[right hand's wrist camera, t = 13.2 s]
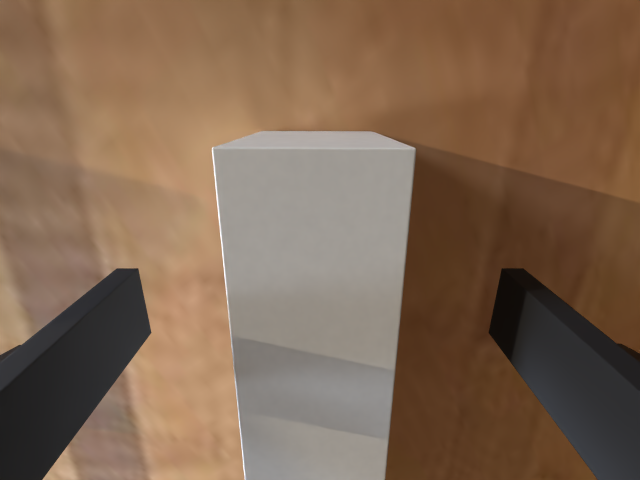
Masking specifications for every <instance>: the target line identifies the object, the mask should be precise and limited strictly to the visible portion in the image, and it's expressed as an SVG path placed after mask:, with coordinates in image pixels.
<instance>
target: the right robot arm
mask: <svg viewBox="0 0 640 480" xmlns="http://www.w3.org/2000/svg"><path fill="white" fill-rule="evenodd" d="M150 334H151V329H150V324H149V319H148V314H147V309H146V304H145V300H144V295H143V290H142V285H141V280H140V275H139V270H138V269H116V270H114V271H113V272H112V273H111V274H109V275H108V276H107V277H106V278H104V279H103V280H102V281H101V282H100V283H98V284H97V285H96V286H95V287H93V288H92V289H91V290H90V291H88V292H87V293H86V294H85V295H83V296H82V297H81V298H80V299H78V300H77V301H76V302H75V303H73V304H72V305H71V306H70V307H68V308H67V309H66V310H65V311H63V312H62V313H61V314H60V315H58V316H57V317H56V318H55V319H53V320H52V321H51V322H50V323H48V324H47V325H46V326H45V327H43V328H42V329H41V330H40V331H38V332H37V333H36V334H35V335H34V336H32V337H31V338H30V339H29V340H27V341H26V342H25V343H24V344H22V345H18V346H17V347H15V348H13V349H11V350H9V351H7V352H5V353H3V354H1V355H0V480H42V479H43V478H44V476H45V475H46V474H47V472H48V471H49V470H50V468H51V467H52V466H53V464H54V463H55V462H56V460H57V459H58V458H59V456H60V455H61V454H62V452H63V451H64V450H65V448H66V447H67V446H68V444H69V443H70V441H71V440H72V439H73V437H74V436H75V435H76V433H77V432H78V431H79V429H80V428H81V427H82V425H83V424H84V423H85V421H86V420H87V419H88V417H89V416H90V415H91V413H92V412H93V410H94V409H95V408H96V406H97V405H98V404H99V402H100V401H101V400H102V398H103V397H104V396H105V394H106V393H107V392H108V390H109V389H110V388H111V386H112V385H113V384H114V382H115V381H116V380H117V378H118V377H119V375H120V374H121V373H122V371H123V370H124V369H125V367H126V366H127V365H128V363H129V362H130V361H131V359H132V358H133V357H134V355H135V354H136V353H137V351H138V350H139V349H140V347H141V346H142V344H143V343H144V342H145V340H146V339H147V338H148V336H149V335H150ZM489 334H490V335H491V336H492V338H493V339H494V340H495V342H496V343H497V345H498V346H499V347H500V349H501V350H502V351H503V353H504V354H505V355H506V357H507V358H508V359H509V361H510V362H511V363H512V365H513V366H514V367H515V369H516V370H517V371H518V373H519V374H520V375H521V377H522V378H523V380H524V381H525V382H526V384H527V385H528V386H529V388H530V389H531V390H532V392H533V393H534V394H535V396H536V397H537V398H538V400H539V401H540V402H541V404H542V405H543V406H544V408H545V409H546V410H547V412H548V413H549V415H550V416H551V417H552V419H553V420H554V421H555V423H556V424H557V425H558V427H559V428H560V429H561V431H562V432H563V433H564V435H565V436H566V437H567V439H568V440H569V441H570V443H571V444H572V446H573V447H574V448H575V450H576V451H577V452H578V454H579V455H580V456H581V458H582V459H583V460H584V462H585V463H586V464H587V466H588V467H589V468H590V470H591V471H592V472H593V474H594V475H595V476H596V478H597V479H598V480H640V353H638V352H636V351H634V350H632V349H630V348H628V347H626V346H624V345H622V344H616V343H615V342H614V341H613V340H611V339H610V338H609V337H608V336H606V335H605V334H604V333H603V332H602V331H600V330H599V329H598V328H597V327H595V326H594V325H593V324H592V323H590V322H589V321H588V320H587V319H585V318H584V317H583V316H582V315H580V314H579V313H578V312H577V311H575V310H574V309H573V308H572V307H570V306H569V305H568V304H567V303H565V302H564V301H563V300H562V299H560V298H559V297H558V296H557V295H555V294H554V293H553V292H552V291H550V290H549V289H548V288H547V287H545V286H544V285H543V284H542V283H540V282H539V281H538V280H537V279H536V278H534V277H533V276H532V275H531V274H529V273H528V272H527V271H526V270H524V269H502V270H501V275H500V280H499V285H498V290H497V295H496V300H495V304H494V309H493V314H492V319H491V324H490V329H489Z"/></svg>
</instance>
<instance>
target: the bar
mask: <svg viewBox="0 0 640 480" xmlns="http://www.w3.org/2000/svg"><path fill="white" fill-rule="evenodd" d="M212 154H213V164H214V174H215V184H216V194H217V204H218V214H219V224H220V234H221V244H222V254H223V264H224V274H225V284H226V294H227V305H228V315H229V325H230V335H231V345H232V355H233V365H234V375H235V385H236V395H237V405H238V415H239V425H240V435H241V445H242V455H243V465H244V475H245V480H385V476H386V466H387V455H388V445H389V434H390V423H391V413H392V402H393V392H394V381H395V370H396V360H397V349H398V338H399V328H400V317H401V307H402V296H403V285H404V275H405V264H406V254H407V243H408V232H409V222H410V211H411V201H412V190H413V179H414V169H415V158H416V148H414V147H411V146H409V145H406V144H404V143H401V142H398V141H396V140H393V139H391V138H388V137H385V136H383V135H380V134H378V133H375V132H372V131H261V132H258V133H255V134H252V135H249V136H246V137H243V138H240V139H237V140H234V141H231V142H228V143H225V144H222V145H219V146H215V147H213V148H212Z"/></svg>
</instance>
